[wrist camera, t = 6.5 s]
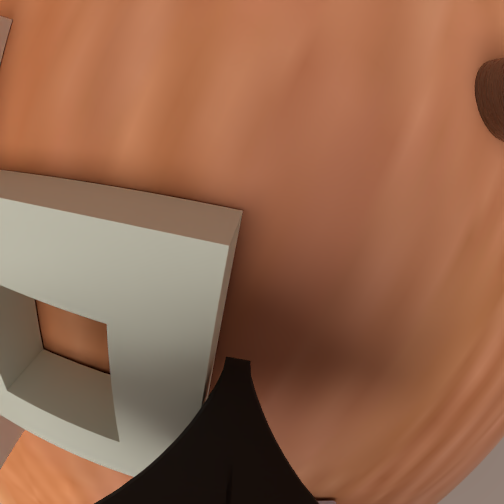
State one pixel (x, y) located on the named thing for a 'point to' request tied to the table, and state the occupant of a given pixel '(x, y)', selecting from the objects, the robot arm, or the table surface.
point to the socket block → (111, 312)
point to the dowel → (491, 96)
